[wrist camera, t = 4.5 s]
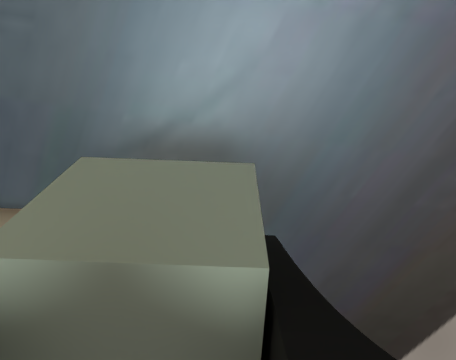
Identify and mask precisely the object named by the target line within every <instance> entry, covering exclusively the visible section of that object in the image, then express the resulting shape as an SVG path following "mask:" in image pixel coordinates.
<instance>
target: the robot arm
mask: <svg viewBox="0 0 456 360" xmlns="http://www.w3.org/2000/svg"><path fill="white" fill-rule="evenodd" d="M265 242H266V249H267V256H268V263H269V277H268V288H267V299H266V309H265V320H264V331H263V342H262V353H261V360H396V359H395V358H393V357H392V356H391V355H389V354H388V353H387V352H386V351H384V350H383V349H382V348H380V347H379V346H378V345H376V344H375V343H374V342H372V341H371V340H370V339H369V338H367V337H366V336H365V335H364V334H363V333H361V332H360V331H359V330H358V329H357V328H356V327H354V326H353V325H352V324H351V323H350V322H349V321H348V320H347V319H345V318H344V317H343V316H342V315H341V314H340V313H339V312H338V311H337V310H336V309H335V308H334V307H333V306H332V305H331V304H330V303H329V302H328V301H327V300H326V299H325V298H324V297H323V296H322V295H321V294H320V293H319V291H318V290H317V289H316V288H315V287H314V286H313V285H312V283H311V282H310V281H309V280H308V279H307V277H306V276H305V275H304V274H303V273H302V271H301V270H300V269H299V268H298V266H297V265H296V264H295V263H294V261H293V260H292V258H291V257H290V256H289V254H288V253H287V252H286V250H285V249H284V247H283V246H282V244H281V243H280V241H279V240H278V239H277V238H276V237H275V236H270V235H265Z"/></svg>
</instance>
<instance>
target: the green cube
mask: <svg viewBox="0 0 456 360" xmlns="http://www.w3.org/2000/svg"><path fill="white" fill-rule="evenodd" d="M268 277H269V263H268V256H267V249H266V242H265V235H264V228H263V221H262V213H261V206H260V199H259V192H258V185H257V178H256V171H255V164H254V163H231V162H204V161H177V160H150V159H123V158H96V157H81V158H80V159H78V160H77V161H76V162H75V163H74V164H73V165H72V166H70V167H69V168H68V169H67V170H66V171H65V172H64V173H62V174H61V175H60V176H59V177H58V178H57V179H56V180H54V181H53V182H52V183H51V184H50V185H49V186H48V187H46V188H45V189H44V190H43V191H42V192H41V193H40V194H38V195H37V196H36V197H35V198H34V199H33V200H32V201H30V202H29V203H28V204H27V205H26V206H25V207H24V208H22V209H21V210H20V211H19V212H18V213H17V214H16V215H14V216H13V217H12V218H11V219H10V220H9V221H8V222H6V223H5V224H4V225H3V226H2V227H1V228H0V360H261V353H262V342H263V331H264V320H265V309H266V299H267V288H268Z"/></svg>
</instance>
